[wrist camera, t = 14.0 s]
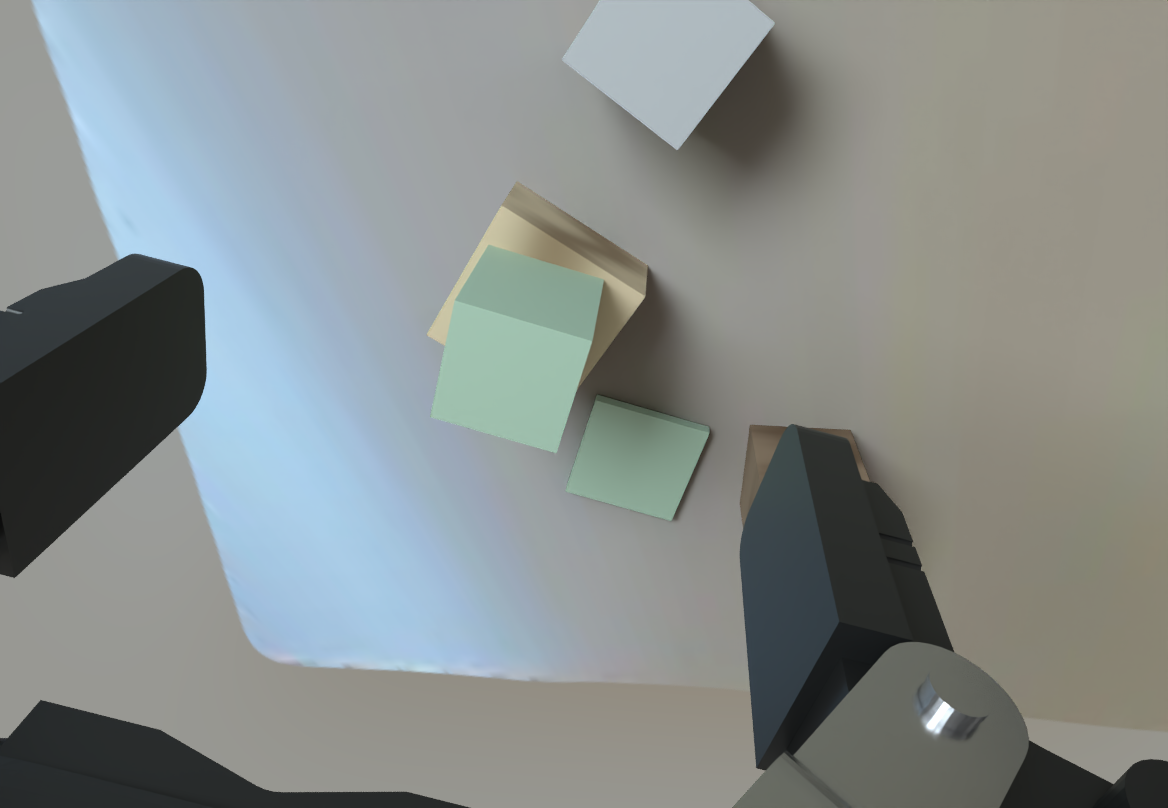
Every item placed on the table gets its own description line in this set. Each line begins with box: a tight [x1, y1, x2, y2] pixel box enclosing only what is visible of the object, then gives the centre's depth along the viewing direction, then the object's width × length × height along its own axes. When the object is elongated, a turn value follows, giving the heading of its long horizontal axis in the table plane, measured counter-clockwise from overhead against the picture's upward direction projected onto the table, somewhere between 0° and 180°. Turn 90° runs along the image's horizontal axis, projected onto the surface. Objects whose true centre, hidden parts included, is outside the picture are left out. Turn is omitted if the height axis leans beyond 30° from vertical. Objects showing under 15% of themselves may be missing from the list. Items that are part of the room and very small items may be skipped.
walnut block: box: [740, 425, 870, 528], centre depth 38 cm, size 5×5×6 cm
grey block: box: [562, 0, 775, 150], centre depth 28 cm, size 5×5×6 cm
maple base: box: [427, 182, 648, 389], centre depth 35 cm, size 7×7×4 cm
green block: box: [430, 245, 604, 453], centre depth 31 cm, size 5×5×6 cm
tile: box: [566, 395, 710, 521], centre depth 41 cm, size 6×6×1 cm
